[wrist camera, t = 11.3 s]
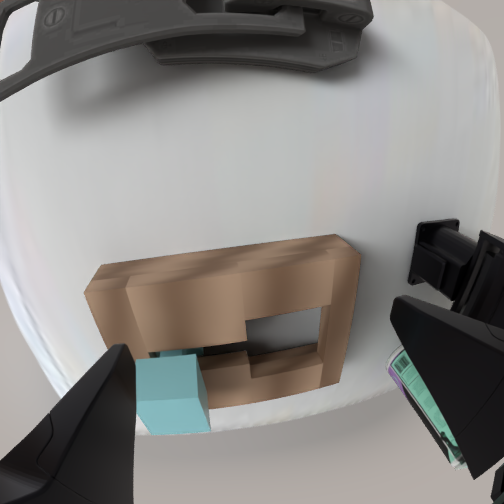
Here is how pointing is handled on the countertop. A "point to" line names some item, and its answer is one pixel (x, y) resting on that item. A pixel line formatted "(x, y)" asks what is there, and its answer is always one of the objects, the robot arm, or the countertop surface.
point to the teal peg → (172, 393)
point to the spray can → (424, 404)
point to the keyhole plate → (234, 311)
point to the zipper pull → (191, 33)
